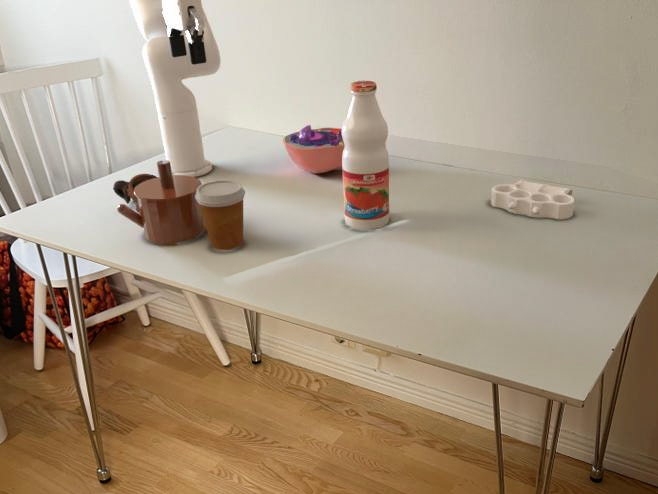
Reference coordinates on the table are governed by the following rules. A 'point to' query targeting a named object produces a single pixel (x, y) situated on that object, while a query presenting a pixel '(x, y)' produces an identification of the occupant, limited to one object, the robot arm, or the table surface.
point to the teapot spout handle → (130, 214)
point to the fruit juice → (365, 160)
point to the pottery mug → (131, 188)
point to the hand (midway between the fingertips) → (188, 59)
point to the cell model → (316, 149)
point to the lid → (167, 185)
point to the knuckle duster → (534, 200)
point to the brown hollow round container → (171, 220)
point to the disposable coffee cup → (222, 212)
